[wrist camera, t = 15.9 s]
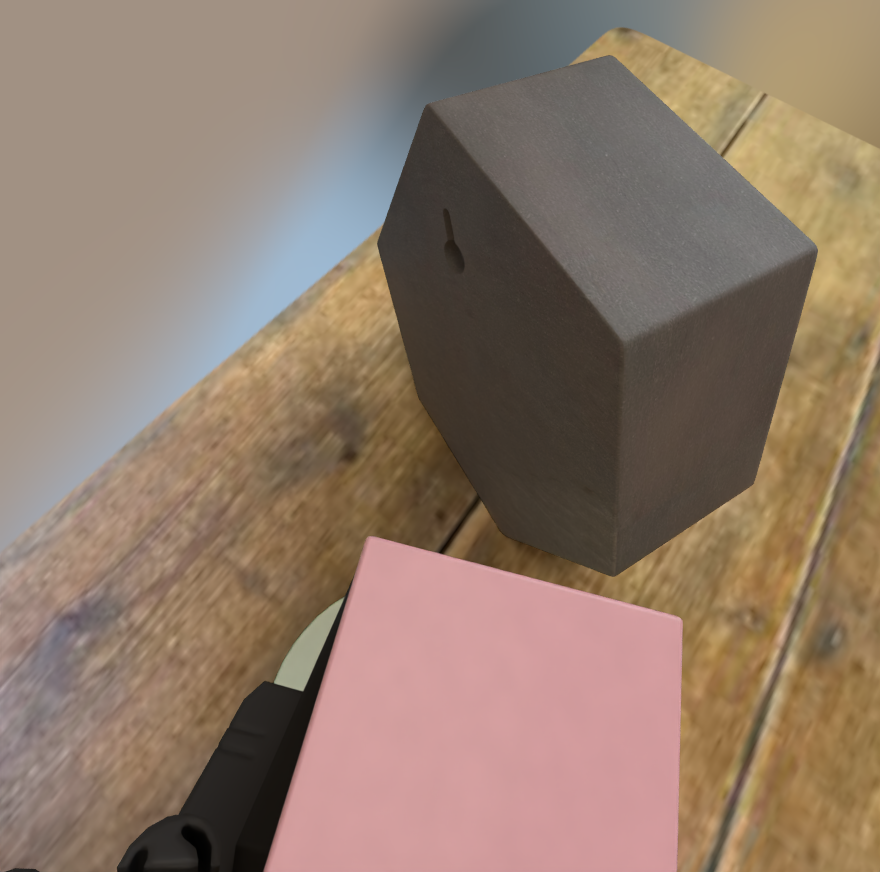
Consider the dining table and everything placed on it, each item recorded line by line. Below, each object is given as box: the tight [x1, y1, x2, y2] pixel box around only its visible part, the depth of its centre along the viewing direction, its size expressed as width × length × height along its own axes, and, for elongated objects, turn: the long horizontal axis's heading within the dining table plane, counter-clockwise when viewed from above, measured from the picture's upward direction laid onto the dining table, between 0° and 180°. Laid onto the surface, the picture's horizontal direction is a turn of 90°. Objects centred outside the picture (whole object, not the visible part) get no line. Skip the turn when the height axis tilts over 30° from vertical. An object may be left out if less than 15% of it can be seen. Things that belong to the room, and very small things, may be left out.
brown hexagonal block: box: [377, 55, 818, 576], centre depth 22 cm, size 17×8×21 cm
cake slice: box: [263, 536, 683, 872], centre depth 10 cm, size 9×4×11 cm, turn 166°
